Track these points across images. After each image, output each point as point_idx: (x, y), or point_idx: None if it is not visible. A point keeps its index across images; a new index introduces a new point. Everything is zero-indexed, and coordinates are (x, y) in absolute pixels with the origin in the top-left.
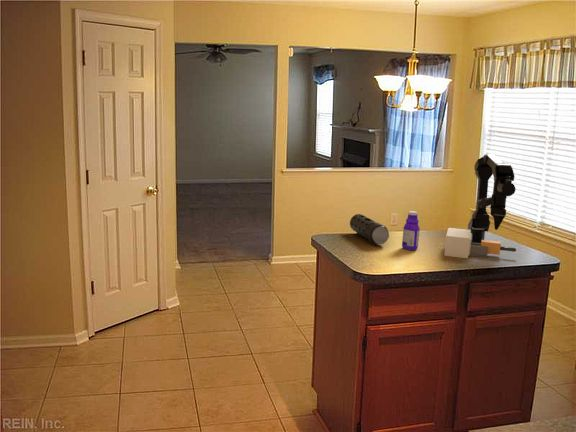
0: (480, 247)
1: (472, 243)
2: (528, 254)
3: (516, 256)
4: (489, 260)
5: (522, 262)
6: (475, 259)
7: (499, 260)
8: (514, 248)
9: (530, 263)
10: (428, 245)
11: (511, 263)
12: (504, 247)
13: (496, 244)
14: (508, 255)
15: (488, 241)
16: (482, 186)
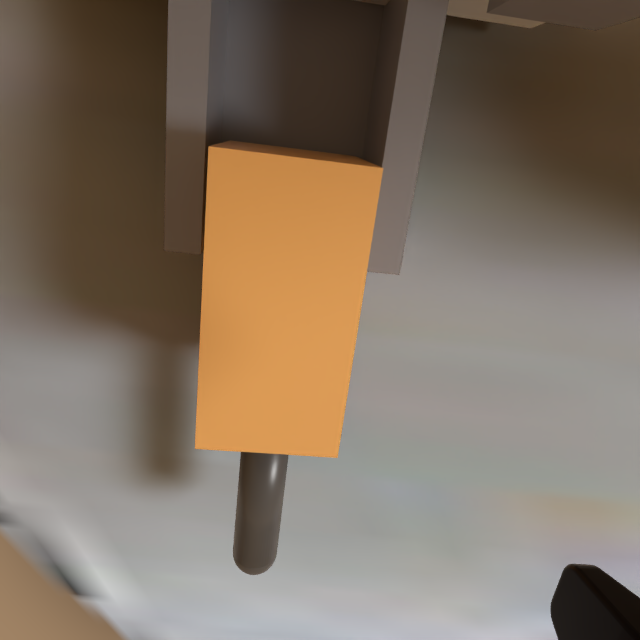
0: (170, 128)
1: (405, 9)
2: (469, 606)
3: (361, 513)
4: (54, 233)
5: (144, 536)
6: (8, 48)
7: (115, 344)
8: (241, 564)
9: (140, 589)
10: None
11: (46, 444)
12: (249, 465)
13: (198, 385)
14: (377, 452)
15: (280, 280)
16: None
